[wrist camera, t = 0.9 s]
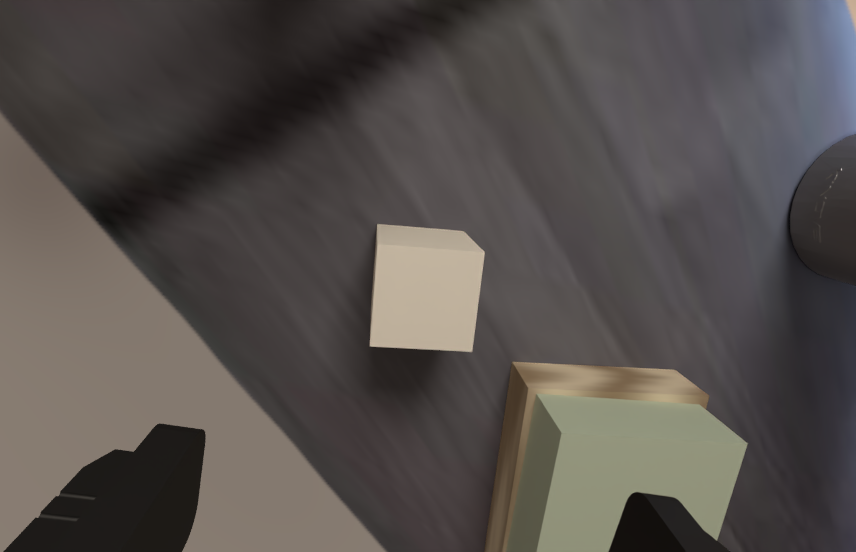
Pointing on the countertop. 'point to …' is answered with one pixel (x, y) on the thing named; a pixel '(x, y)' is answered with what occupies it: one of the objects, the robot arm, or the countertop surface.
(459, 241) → the cream block
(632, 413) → the sage slab
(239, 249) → the countertop surface
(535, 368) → the brown wooden slab
